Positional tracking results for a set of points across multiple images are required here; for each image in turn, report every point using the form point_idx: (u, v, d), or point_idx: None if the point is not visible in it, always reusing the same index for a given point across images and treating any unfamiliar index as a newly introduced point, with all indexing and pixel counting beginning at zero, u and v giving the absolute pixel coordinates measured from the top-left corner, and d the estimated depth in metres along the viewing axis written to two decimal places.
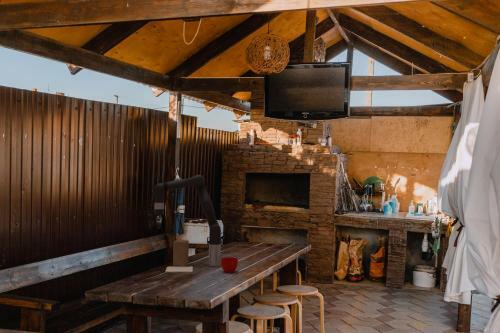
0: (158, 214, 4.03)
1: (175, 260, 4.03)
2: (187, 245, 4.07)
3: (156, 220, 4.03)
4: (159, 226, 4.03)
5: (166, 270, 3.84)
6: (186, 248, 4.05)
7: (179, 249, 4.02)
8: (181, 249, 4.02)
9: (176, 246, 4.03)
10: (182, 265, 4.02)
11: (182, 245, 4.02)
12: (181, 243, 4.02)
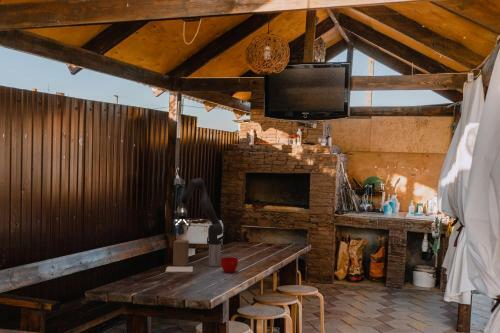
0: None
1: (175, 260, 4.03)
2: (187, 245, 4.07)
3: None
4: (176, 226, 4.25)
5: (166, 270, 3.84)
6: (186, 248, 4.05)
7: (179, 249, 4.02)
8: (181, 249, 4.02)
9: (176, 246, 4.03)
10: (182, 265, 4.02)
11: (182, 245, 4.02)
12: (181, 243, 4.02)
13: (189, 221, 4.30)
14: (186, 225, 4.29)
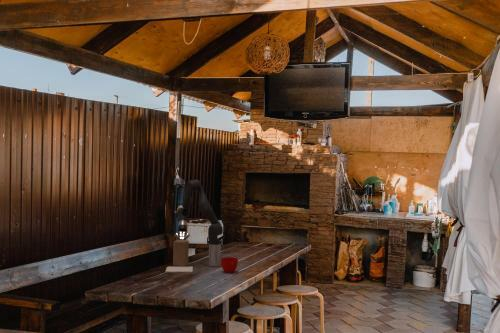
0: (178, 231, 4.27)
1: (175, 260, 4.03)
2: (187, 245, 4.07)
3: None
4: None
5: (166, 270, 3.84)
6: (186, 248, 4.05)
7: (179, 249, 4.02)
8: (181, 249, 4.02)
9: (176, 246, 4.03)
10: (182, 265, 4.02)
11: (182, 245, 4.02)
12: (181, 243, 4.02)
13: (187, 235, 4.23)
14: None
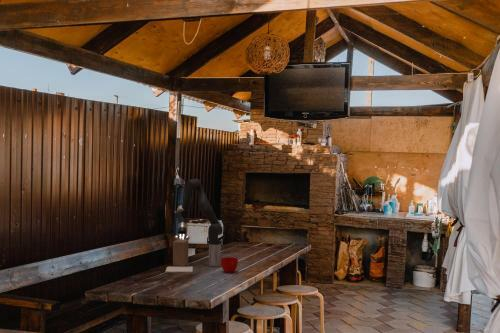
0: None
1: (175, 260, 4.03)
2: (186, 245, 4.06)
3: None
4: None
5: (166, 270, 3.84)
6: (186, 248, 4.05)
7: (179, 249, 4.02)
8: (181, 249, 4.01)
9: (176, 246, 4.02)
10: (182, 265, 4.02)
11: (181, 245, 4.01)
12: (181, 243, 4.01)
13: (187, 237, 4.17)
14: None
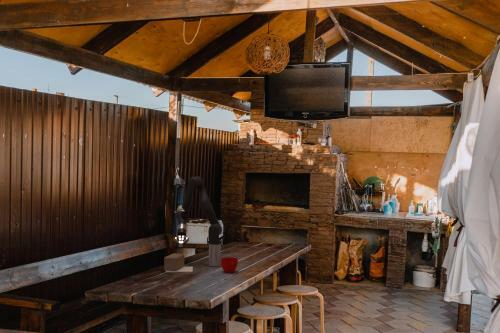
0: None
1: None
2: (178, 263, 3.86)
3: None
4: (179, 245, 4.03)
5: (166, 270, 3.84)
6: (178, 264, 3.88)
7: None
8: None
9: None
10: None
11: None
12: (173, 270, 3.84)
13: (186, 239, 4.07)
14: None
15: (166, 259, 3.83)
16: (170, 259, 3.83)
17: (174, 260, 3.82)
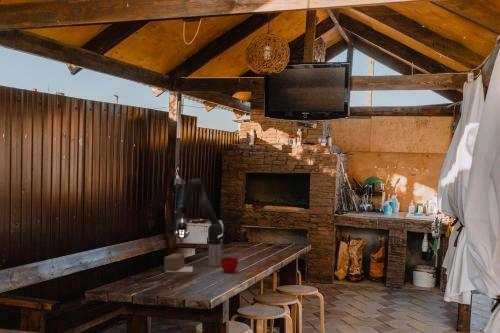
0: None
1: None
2: (178, 263, 3.86)
3: None
4: (180, 238, 4.18)
5: (166, 270, 3.84)
6: (178, 264, 3.88)
7: None
8: None
9: None
10: None
11: None
12: (173, 270, 3.84)
13: (186, 233, 4.22)
14: (182, 236, 4.21)
15: (166, 259, 3.83)
16: (170, 259, 3.83)
17: (174, 260, 3.82)
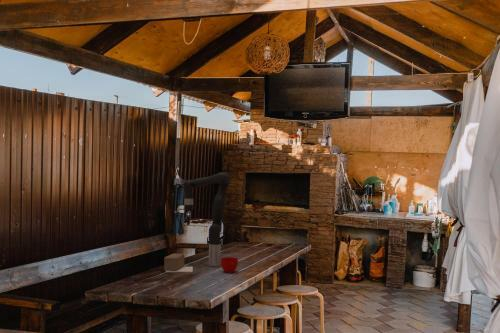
0: (188, 209, 4.19)
1: None
2: (178, 263, 3.86)
3: (186, 216, 4.21)
4: (189, 222, 4.22)
5: (166, 270, 3.84)
6: (178, 264, 3.88)
7: None
8: None
9: None
10: None
11: None
12: (173, 270, 3.84)
13: None
14: None
15: (166, 259, 3.83)
16: (170, 259, 3.83)
17: (174, 260, 3.82)
